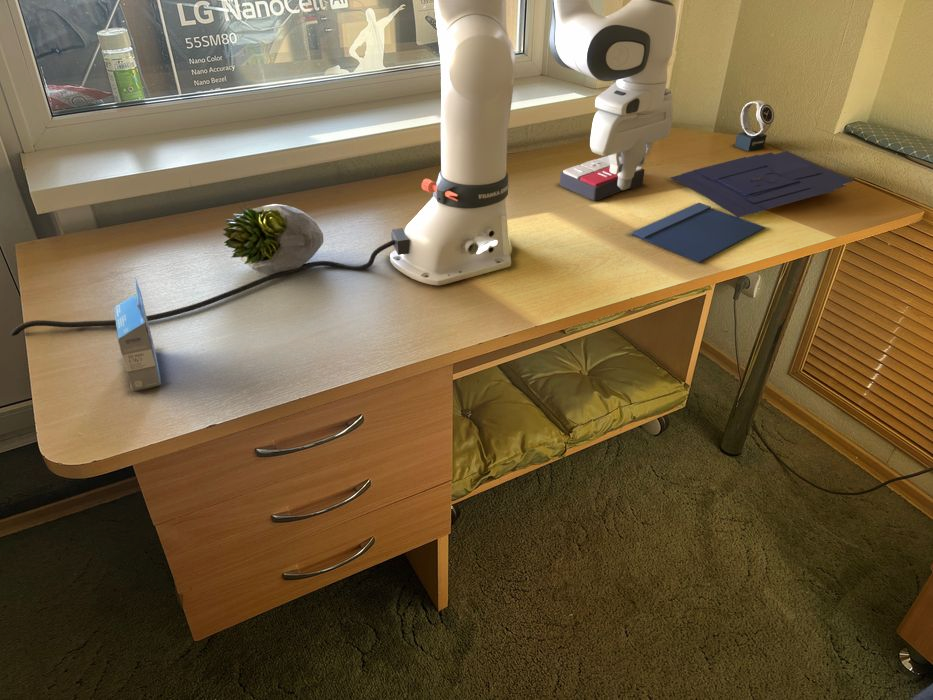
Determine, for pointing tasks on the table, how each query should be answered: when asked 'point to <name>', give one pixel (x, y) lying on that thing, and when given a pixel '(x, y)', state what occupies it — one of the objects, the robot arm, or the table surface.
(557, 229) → the table surface
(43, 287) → the table surface
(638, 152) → the lightbulb
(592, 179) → the button panel
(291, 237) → the potted plant
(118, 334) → the label tape box
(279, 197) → the table surface
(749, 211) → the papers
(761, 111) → the watch
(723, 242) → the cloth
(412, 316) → the table surface
